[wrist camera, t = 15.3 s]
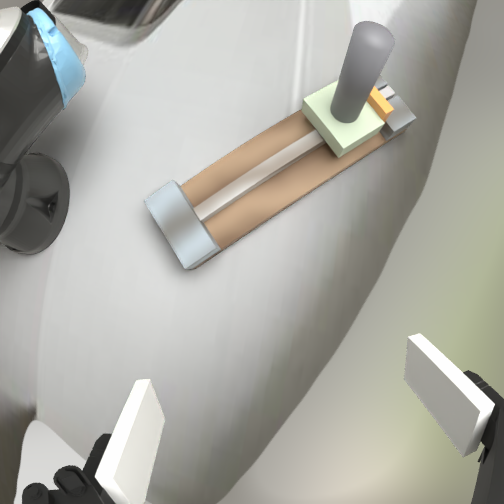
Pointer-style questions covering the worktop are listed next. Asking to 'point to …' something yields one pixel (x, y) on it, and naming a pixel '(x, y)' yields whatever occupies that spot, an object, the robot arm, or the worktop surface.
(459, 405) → the robot arm
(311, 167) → the rail base
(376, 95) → the orange block
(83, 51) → the glass holder
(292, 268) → the worktop surface
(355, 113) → the carriage
